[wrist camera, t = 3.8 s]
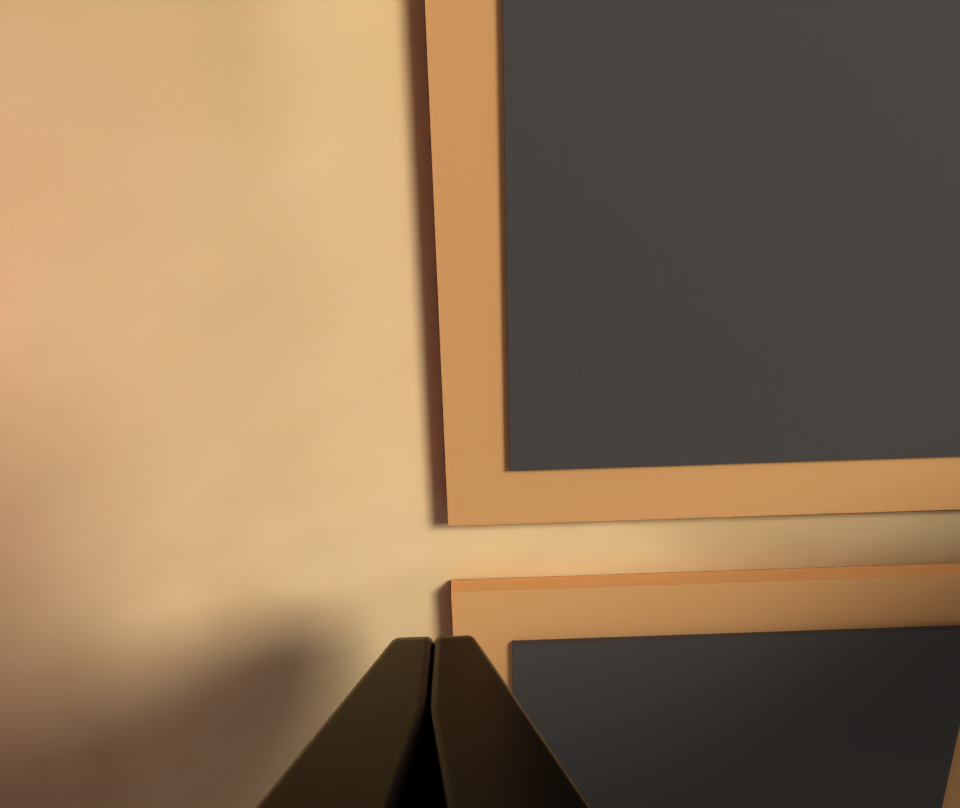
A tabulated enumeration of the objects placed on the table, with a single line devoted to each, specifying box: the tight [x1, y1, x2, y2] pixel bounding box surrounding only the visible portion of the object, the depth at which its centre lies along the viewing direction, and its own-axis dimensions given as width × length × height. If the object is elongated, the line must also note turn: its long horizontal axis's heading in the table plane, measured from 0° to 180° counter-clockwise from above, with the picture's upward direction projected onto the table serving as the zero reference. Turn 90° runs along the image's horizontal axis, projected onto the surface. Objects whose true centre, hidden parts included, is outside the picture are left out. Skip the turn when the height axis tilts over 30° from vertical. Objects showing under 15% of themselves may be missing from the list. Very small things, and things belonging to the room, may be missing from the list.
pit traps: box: [425, 0, 960, 808], centre depth 11 cm, size 8×17×1 cm, turn 2°
